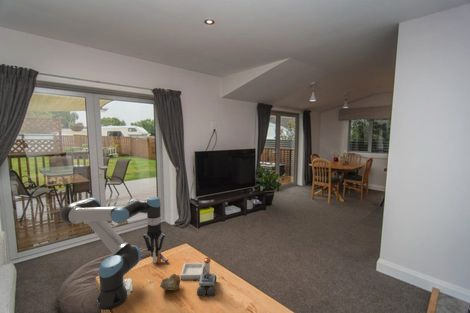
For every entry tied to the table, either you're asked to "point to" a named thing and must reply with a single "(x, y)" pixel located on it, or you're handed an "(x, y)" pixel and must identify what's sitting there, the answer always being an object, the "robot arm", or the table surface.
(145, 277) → the table surface
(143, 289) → the table surface
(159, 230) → the robot arm
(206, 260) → the pin
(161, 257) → the toy
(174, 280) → the rock
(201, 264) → the tray
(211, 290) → the trolley
